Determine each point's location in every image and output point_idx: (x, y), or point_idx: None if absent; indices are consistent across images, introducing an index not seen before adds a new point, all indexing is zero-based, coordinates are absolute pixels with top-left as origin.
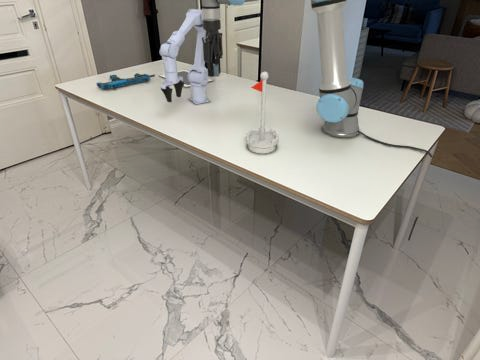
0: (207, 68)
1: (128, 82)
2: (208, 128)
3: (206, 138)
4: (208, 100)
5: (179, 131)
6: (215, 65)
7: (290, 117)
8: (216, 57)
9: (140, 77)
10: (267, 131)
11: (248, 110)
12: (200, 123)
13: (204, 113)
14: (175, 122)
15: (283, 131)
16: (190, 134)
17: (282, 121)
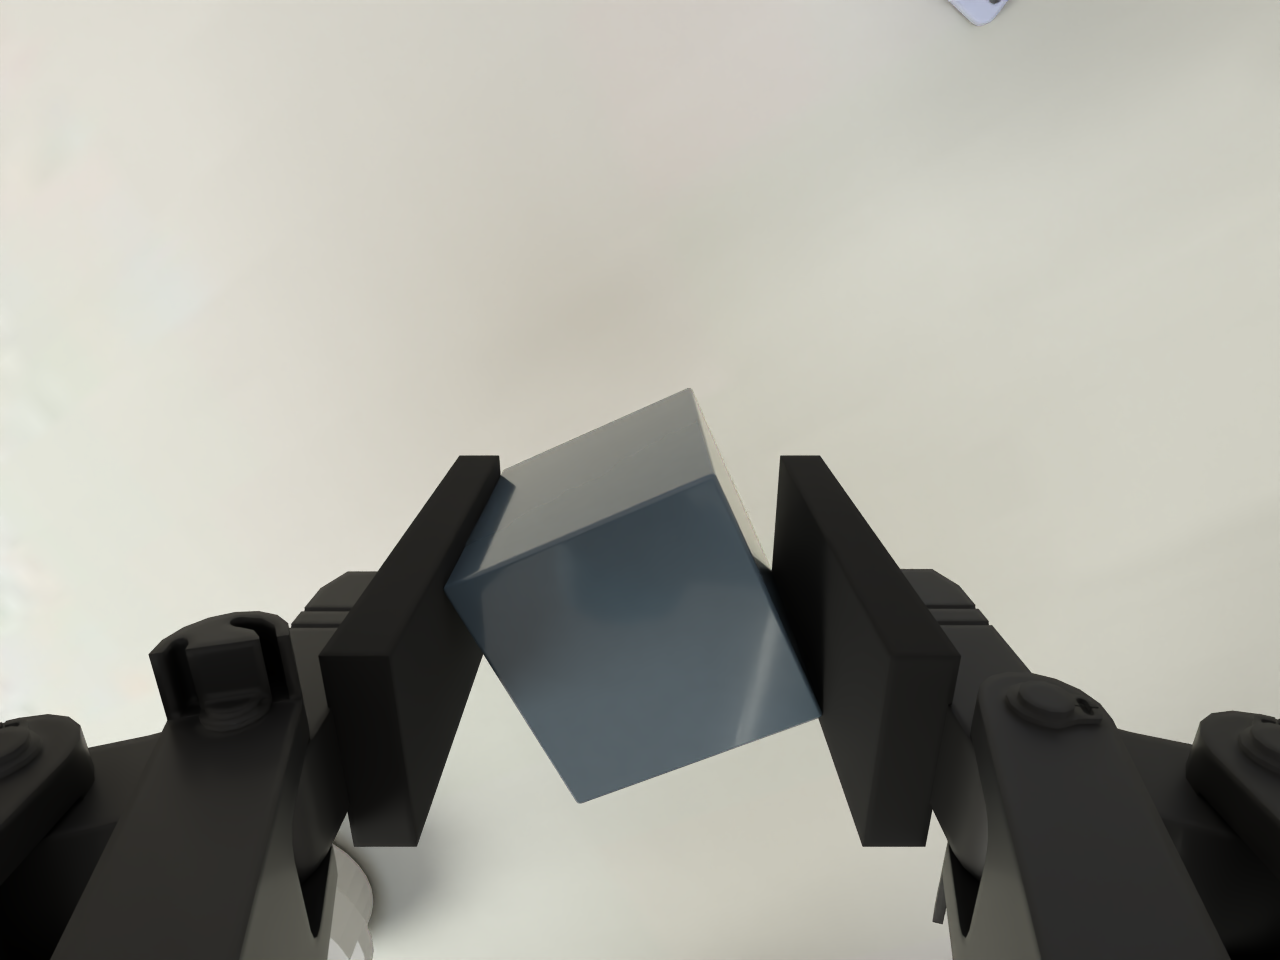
0: (321, 588)
1: None
2: (301, 449)
3: (134, 535)
4: (1002, 1)
5: (60, 229)
6: (600, 716)
7: (842, 887)
8: (958, 750)
9: None
10: (357, 955)
11: None
12: (347, 316)
13: (599, 199)
14: (192, 23)
15: (579, 917)
16: (91, 371)
17: (743, 867)
